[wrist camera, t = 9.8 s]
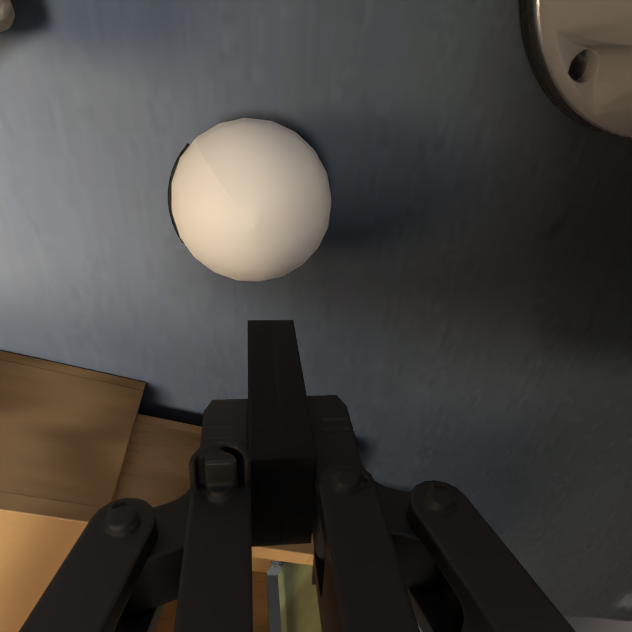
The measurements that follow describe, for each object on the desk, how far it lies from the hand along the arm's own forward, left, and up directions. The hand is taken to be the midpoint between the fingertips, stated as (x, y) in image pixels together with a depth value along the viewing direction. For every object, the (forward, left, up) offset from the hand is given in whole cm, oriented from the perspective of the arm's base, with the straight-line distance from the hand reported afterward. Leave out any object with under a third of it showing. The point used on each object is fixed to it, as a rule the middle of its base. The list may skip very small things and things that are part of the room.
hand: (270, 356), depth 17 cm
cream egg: (+1, -2, -13) cm, 13 cm away
